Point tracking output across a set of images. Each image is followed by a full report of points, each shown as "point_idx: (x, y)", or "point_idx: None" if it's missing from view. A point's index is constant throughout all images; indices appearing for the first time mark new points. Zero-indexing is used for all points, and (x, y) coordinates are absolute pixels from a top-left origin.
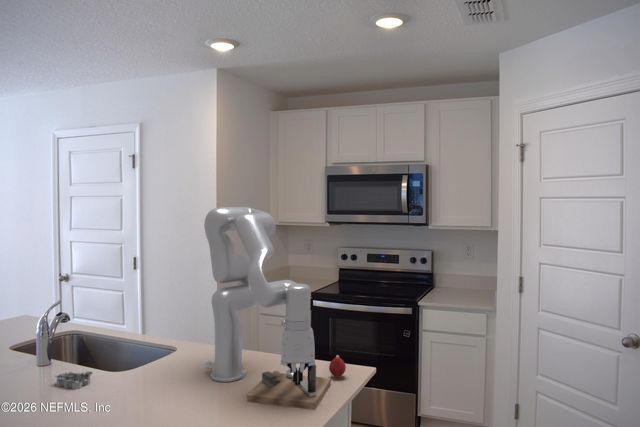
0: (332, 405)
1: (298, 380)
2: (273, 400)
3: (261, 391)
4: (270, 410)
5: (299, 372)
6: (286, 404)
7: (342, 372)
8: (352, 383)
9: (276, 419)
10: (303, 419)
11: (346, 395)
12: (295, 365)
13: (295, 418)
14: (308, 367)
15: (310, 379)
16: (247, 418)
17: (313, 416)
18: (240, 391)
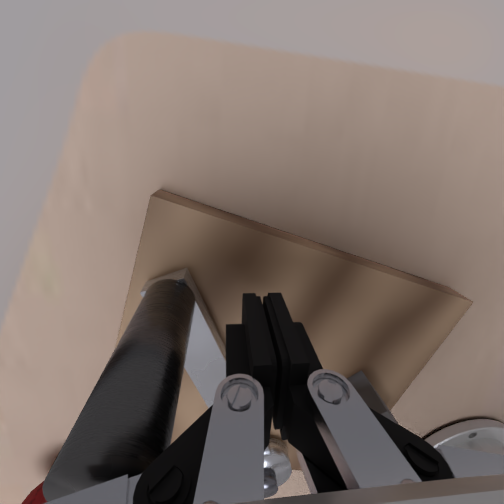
0: (69, 232)
1: (262, 314)
2: (363, 263)
3: (406, 333)
4: (376, 199)
5: (263, 370)
6: (302, 239)
7: (33, 491)
8: (4, 431)
9: (366, 91)
10: (224, 71)
11: (10, 332)
12: (312, 474)
13: (268, 91)
14: (152, 450)
15: (158, 334)
16: (493, 122)
17: (166, 105)
18: (449, 362)
